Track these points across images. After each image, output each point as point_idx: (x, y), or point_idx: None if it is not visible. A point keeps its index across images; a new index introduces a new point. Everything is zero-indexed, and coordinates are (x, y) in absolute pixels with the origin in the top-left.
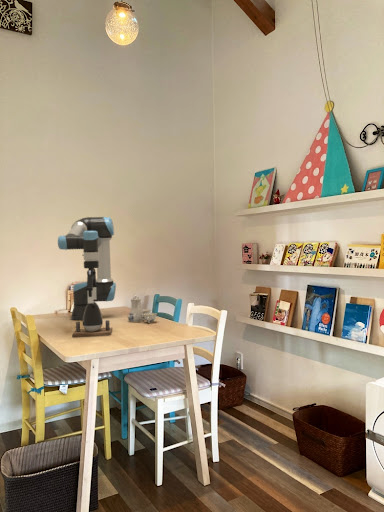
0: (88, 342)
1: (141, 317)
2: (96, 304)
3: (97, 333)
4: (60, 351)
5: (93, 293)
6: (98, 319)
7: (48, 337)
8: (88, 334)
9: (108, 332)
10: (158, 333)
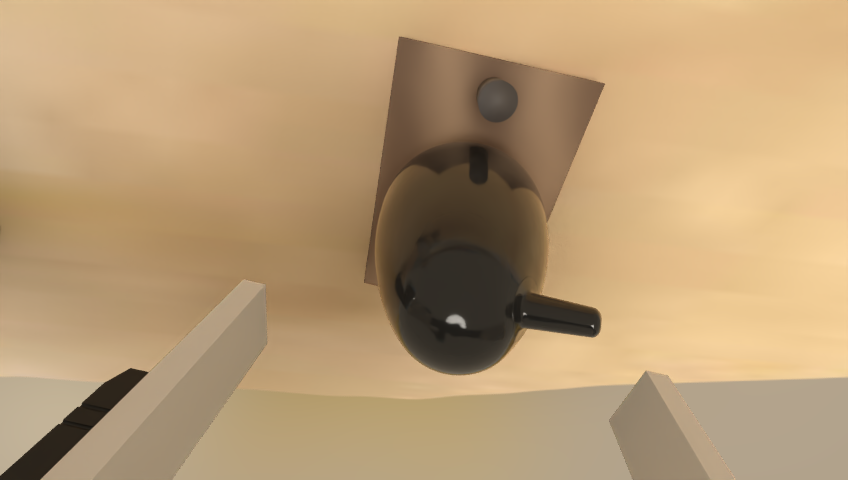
0: (712, 249)
1: None
2: (495, 286)
3: (563, 182)
4: (807, 378)
5: (204, 399)
6: (539, 201)
7: (447, 384)
8: None
9: (591, 100)
10: None
